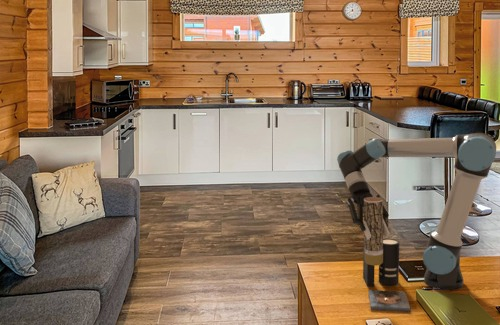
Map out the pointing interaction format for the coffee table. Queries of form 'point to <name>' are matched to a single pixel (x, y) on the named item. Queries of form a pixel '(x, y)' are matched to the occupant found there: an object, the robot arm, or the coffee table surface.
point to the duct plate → (388, 301)
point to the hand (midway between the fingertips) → (378, 236)
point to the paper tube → (374, 230)
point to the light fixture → (384, 265)
